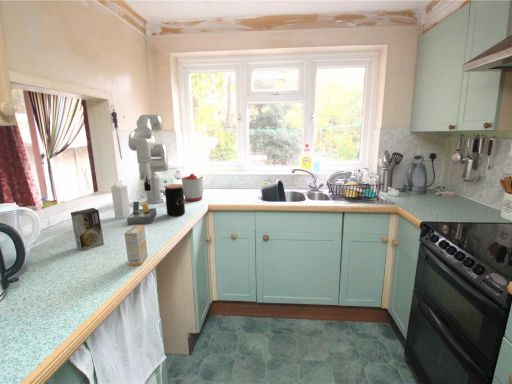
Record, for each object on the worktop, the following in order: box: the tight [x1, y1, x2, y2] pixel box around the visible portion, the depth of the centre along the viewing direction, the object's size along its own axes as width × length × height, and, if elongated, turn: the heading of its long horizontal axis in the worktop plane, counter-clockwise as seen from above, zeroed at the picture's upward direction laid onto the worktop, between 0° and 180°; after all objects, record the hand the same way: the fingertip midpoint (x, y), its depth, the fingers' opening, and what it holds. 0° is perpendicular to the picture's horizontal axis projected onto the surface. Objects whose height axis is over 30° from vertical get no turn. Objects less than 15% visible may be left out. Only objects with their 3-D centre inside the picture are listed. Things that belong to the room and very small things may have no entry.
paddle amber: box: [141, 202, 150, 213], centre depth 152 cm, size 2×3×7 cm, turn 102°
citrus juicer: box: [181, 173, 204, 202], centre depth 200 cm, size 16×17×20 cm
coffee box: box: [70, 207, 105, 252], centre depth 116 cm, size 9×6×16 cm
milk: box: [110, 180, 131, 220], centre depth 157 cm, size 6×6×22 cm
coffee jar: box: [164, 183, 186, 218], centre depth 162 cm, size 11×11×18 cm
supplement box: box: [124, 224, 148, 267], centre depth 101 cm, size 8×5×13 cm, turn 5°
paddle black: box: [132, 201, 140, 213], centre depth 154 cm, size 2×3×7 cm, turn 101°
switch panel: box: [126, 207, 158, 226], centre depth 154 cm, size 18×12×4 cm, turn 11°
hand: (147, 190), depth 161 cm, fingers closed
